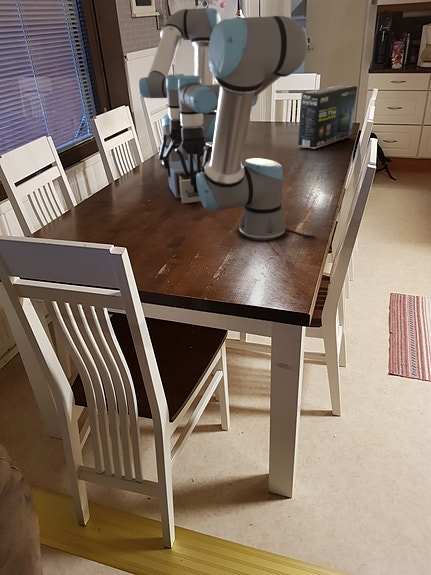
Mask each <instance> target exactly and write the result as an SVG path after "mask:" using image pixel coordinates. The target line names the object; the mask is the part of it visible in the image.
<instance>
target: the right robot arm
mask: <svg viewBox="0 0 431 575" xmlns="http://www.w3.org/2000/svg"><path fill="white" fill-rule="evenodd" d="M308 48H309V43H308V38H307V34H306V32H305V29H304V28H303V27H302V25H301V24H299V22H298V21H296V20H295V19H294V18H292V17H289V16H285V15H274V16H272V15H271V16H250V17H242V16H234V17H231V18H224V19H221V21H220V22H219V23H218V24H216V26H215V27H214V29H213V31H212V34H211V37H210V41H209V48H208V55H209V59H208V60H209V67H210V71H211V73H212V74H213V76H214V81H215V82H216V83H214V84H213V85H202V83H201V78H200V76H197V75H195V74H191V75H188V74H187V75H185V76H181V77H179V78H178V93H179V105H180V118H181V126H183V127H182V128H181V132H182V142H181V146H180V147H178V148H176V149H175V151H176V152H177V154H178V155H179V158H180V161H181V164H182V167H183V170H184V173H185V175H186V176H190V184H191V186H193V189H194V192H198V193H199V197H200V200H201V201H200V202H201V204H202V207H203V208H204V209H205V211H206V210H207V211H208V212H215V211H222V210H229V209H233V208H238V207H239V208H240V207H244V211H243V213H242V216H241V220H240V222H239V225H238V232H239V235H240V236H241V237H242V238H244V239H247V240H250V241H254V242H271V241H277V240H279V239H281V238H283V237H285V235H286V234H287V233H290V234H294V235H297V236H299V237H303V238H309V239H314V238H315V235H311V234H304V233H301V232H298V231H296V230H292V229H288V228H287V223H286V221H285V216H284V214H283V210H282V200H283V183H284V174H283V173H284V172H283V171H284V170H283V166H282V164H280V163H279V162H277V161H275V160H271V159H266V158H259V157H258V158H257V157H256V158H255V157H253V158H247V159H245V160H244V163H243V164H242V162H243V155H244V150H245V146H246V140H247V134H248V129H249V124H250V119H251V113H252V108H253V107H254V106H255V105H257V103H258V102H257V101H258V100H259V95H260V94H262V92H264V91H265V90H266V89H267V88H269V87H270V86H271V85H273V84H274V83H276V81H278V80H279V79H280V78H286V77H288V76H290V75H292V74H293V73H294V72H296V71H297V70H298V69H299V68H300V67H301V66H302V65H303V64H304V62H305V60H306V57H307V54H308ZM211 111H217V115H216V123H215V132H214V140H213V148H212V146H210V145H208V144H206V142H205V140H204V129H203V126H202V125H203V114H207V113H210V112H211ZM204 146H205V148H204ZM182 149H184V150H185V151H186V152H187V154H188V161H189V172H188V169H187V166H186V163H185V160H184V157H183V155H182V153H183V150H182ZM202 150H203V151H204V155H203V158H202V162H201V157H200V153H201V151H202ZM210 153H211V156H210ZM195 158H196V173H197V175H194V166H193V160H194V159H195ZM209 158H210V159H209ZM242 165H244V166H242ZM201 168H202V169H201Z"/></svg>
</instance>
